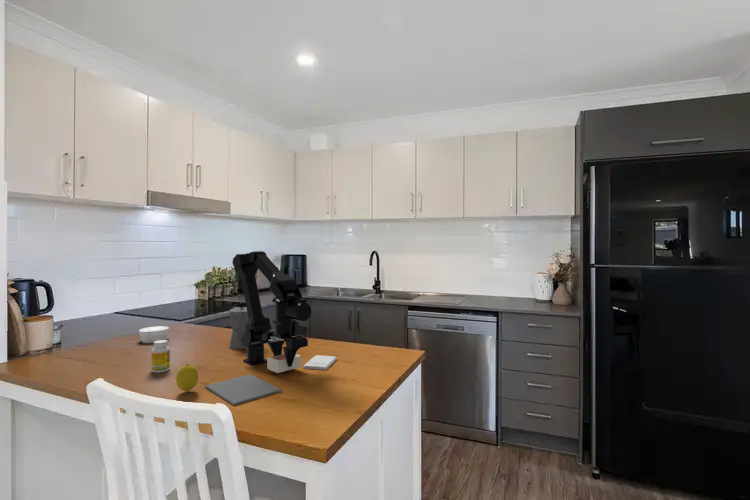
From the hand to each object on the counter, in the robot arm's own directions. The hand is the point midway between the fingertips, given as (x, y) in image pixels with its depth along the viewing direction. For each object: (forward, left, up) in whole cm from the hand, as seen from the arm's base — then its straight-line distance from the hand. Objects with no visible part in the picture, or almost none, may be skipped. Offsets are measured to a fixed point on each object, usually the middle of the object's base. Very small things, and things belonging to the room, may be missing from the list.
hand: (284, 364), depth 128 cm
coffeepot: (-41, +5, -3) cm, 41 cm away
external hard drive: (+1, +14, -3) cm, 15 cm away
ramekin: (-75, -17, -3) cm, 77 cm away
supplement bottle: (-30, -28, -3) cm, 41 cm away
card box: (0, 0, -1) cm, 1 cm away
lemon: (-4, -29, -3) cm, 29 cm away
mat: (+5, -17, -2) cm, 18 cm away
